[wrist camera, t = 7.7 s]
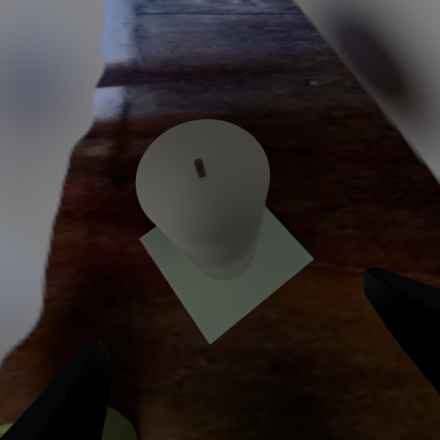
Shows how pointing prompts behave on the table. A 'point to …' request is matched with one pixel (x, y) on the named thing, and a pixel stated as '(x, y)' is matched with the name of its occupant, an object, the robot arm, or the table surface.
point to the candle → (207, 193)
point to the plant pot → (113, 428)
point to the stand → (230, 289)
